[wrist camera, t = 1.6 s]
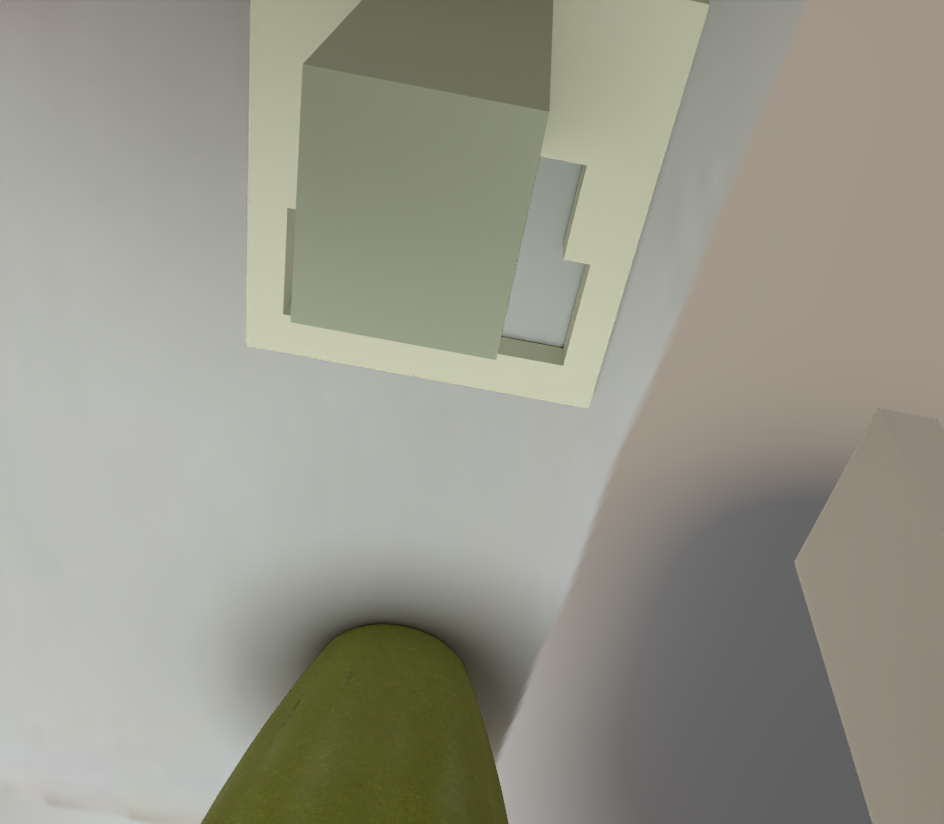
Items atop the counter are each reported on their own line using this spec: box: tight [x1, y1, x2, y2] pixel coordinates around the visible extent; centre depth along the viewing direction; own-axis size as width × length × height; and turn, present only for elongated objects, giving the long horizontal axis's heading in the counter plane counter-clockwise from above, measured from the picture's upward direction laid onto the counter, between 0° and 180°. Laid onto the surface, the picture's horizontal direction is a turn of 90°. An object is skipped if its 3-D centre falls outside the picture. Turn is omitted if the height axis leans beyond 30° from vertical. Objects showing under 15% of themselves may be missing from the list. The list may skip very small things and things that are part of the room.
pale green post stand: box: [246, 0, 710, 408], centre depth 23 cm, size 14×13×13 cm
